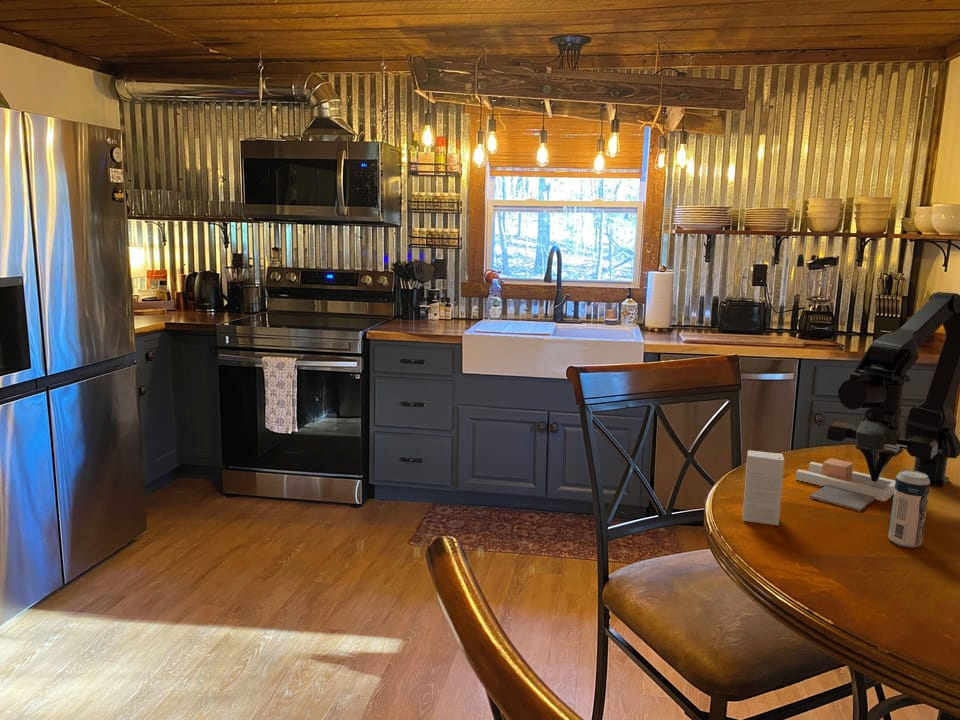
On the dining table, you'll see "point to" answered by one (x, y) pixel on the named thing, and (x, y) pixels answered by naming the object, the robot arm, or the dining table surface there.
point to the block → (837, 469)
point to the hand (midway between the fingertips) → (874, 481)
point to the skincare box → (763, 487)
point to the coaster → (842, 497)
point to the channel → (849, 482)
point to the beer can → (909, 508)
